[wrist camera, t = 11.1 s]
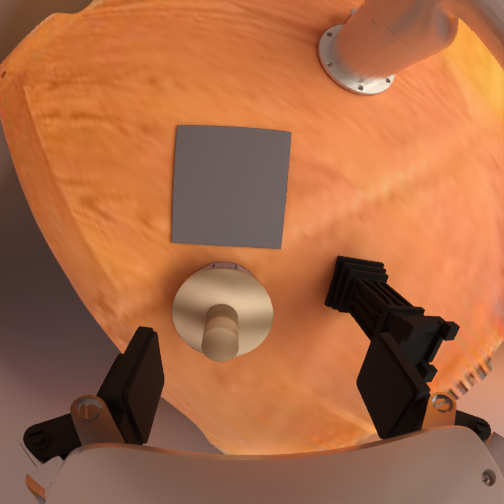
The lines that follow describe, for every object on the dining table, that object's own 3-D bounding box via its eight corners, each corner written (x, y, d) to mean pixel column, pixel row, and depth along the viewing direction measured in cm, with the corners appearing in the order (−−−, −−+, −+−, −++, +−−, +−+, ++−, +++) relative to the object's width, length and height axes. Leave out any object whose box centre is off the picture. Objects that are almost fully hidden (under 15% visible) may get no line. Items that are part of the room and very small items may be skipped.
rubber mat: (178, 126, 33) (177, 125, 32) (290, 132, 34) (291, 132, 33) (172, 241, 37) (172, 242, 37) (280, 247, 38) (280, 249, 38)
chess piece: (338, 255, 39) (412, 323, 20) (381, 262, 40) (463, 323, 21) (324, 304, 41) (378, 391, 22) (367, 307, 42) (431, 383, 23)
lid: (172, 263, 33) (155, 288, 26) (277, 269, 34) (288, 295, 27) (176, 349, 37) (166, 384, 29) (267, 353, 38) (273, 390, 30)
